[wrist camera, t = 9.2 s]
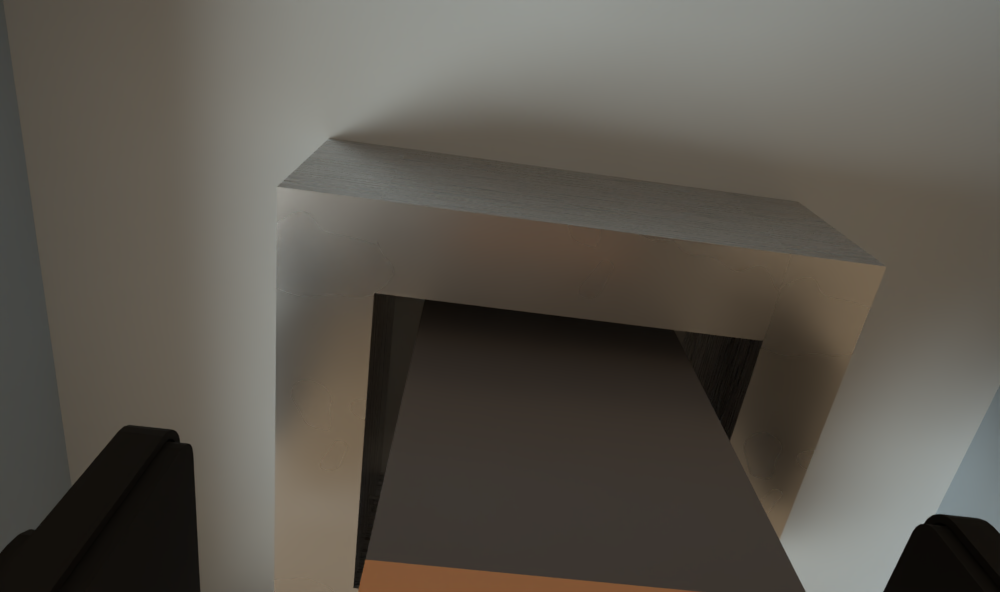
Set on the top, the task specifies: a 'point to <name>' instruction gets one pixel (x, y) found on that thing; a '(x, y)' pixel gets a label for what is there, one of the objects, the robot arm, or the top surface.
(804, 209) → the inlet
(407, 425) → the block
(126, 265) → the walled box
